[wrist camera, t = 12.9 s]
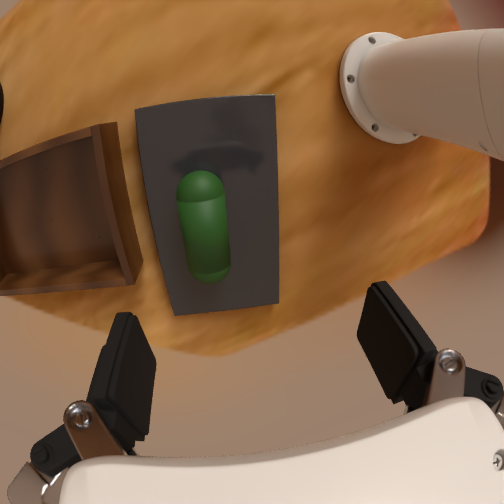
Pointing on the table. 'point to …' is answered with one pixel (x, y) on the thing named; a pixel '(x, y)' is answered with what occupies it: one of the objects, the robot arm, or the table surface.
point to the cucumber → (204, 226)
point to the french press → (1, 101)
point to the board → (235, 186)
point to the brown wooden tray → (67, 216)
